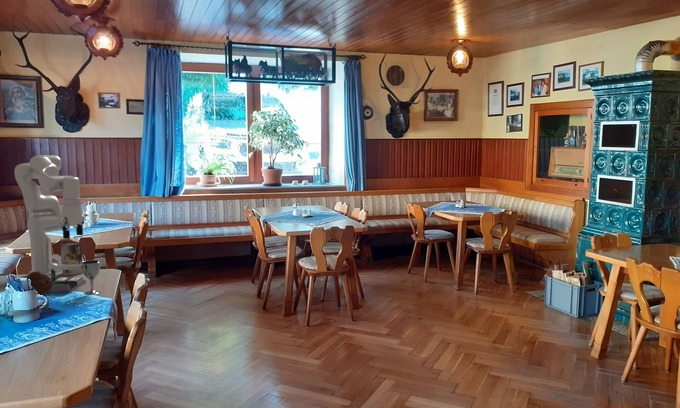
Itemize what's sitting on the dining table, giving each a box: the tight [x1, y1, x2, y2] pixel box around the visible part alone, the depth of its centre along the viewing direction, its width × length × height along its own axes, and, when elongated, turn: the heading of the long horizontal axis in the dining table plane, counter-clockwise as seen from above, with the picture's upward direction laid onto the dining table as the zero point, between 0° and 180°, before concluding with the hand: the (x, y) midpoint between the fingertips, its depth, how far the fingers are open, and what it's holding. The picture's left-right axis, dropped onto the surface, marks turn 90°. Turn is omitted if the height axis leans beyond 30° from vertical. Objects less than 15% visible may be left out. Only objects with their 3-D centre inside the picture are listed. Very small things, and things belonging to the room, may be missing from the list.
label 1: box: [56, 277, 69, 281], centre depth 258 cm, size 5×4×1 cm
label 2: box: [69, 277, 81, 281], centre depth 258 cm, size 5×4×1 cm
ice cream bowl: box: [26, 272, 53, 296], centre depth 228 cm, size 11×11×15 cm
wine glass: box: [82, 259, 101, 296], centre depth 246 cm, size 8×8×15 cm
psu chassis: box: [47, 271, 87, 294], centre depth 254 cm, size 19×15×8 cm
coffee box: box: [59, 242, 83, 277], centre depth 281 cm, size 9×6×16 cm
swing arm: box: [48, 262, 82, 272], centre depth 257 cm, size 18×4×3 cm, turn 93°
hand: (73, 236), depth 257 cm, fingers open, 9 cm apart
